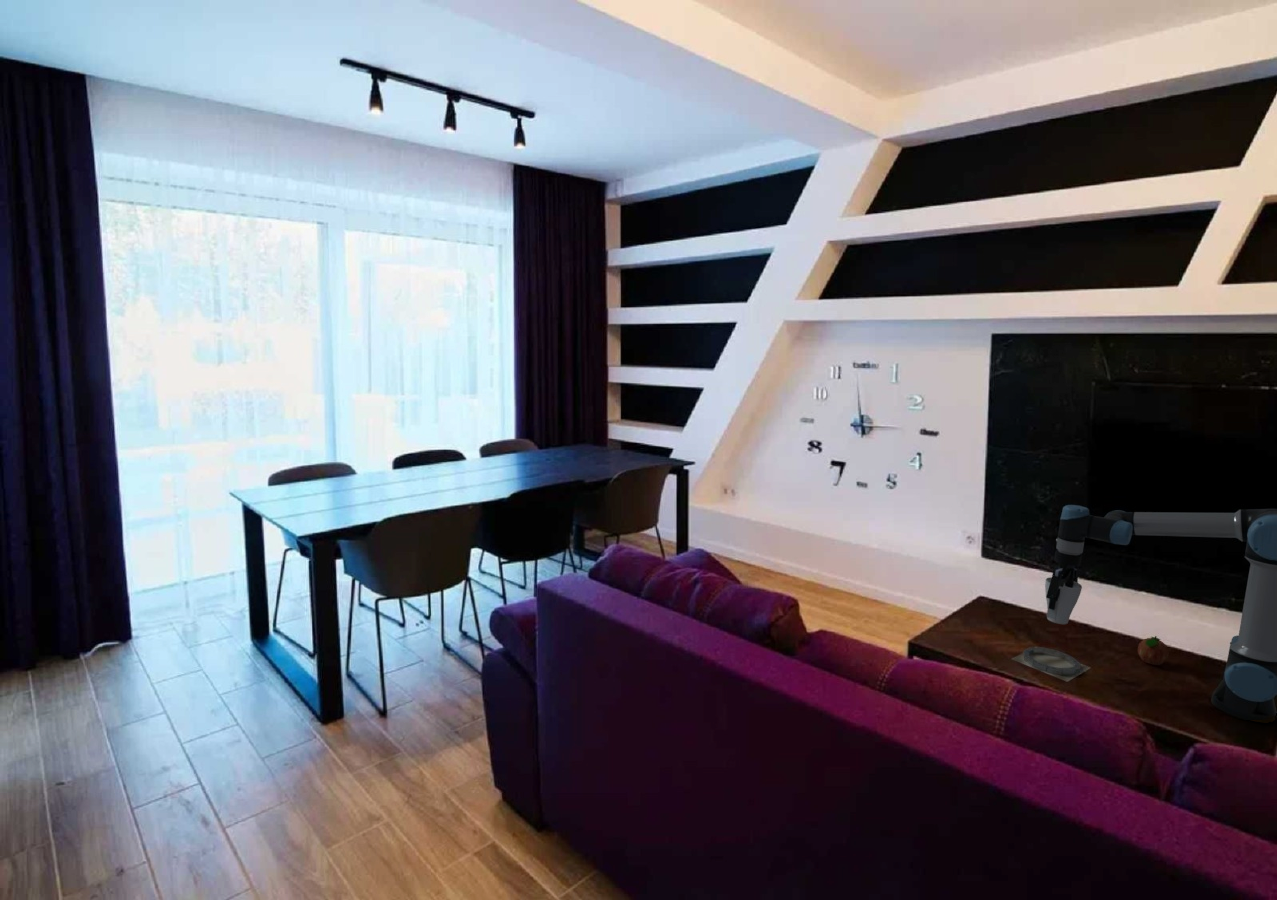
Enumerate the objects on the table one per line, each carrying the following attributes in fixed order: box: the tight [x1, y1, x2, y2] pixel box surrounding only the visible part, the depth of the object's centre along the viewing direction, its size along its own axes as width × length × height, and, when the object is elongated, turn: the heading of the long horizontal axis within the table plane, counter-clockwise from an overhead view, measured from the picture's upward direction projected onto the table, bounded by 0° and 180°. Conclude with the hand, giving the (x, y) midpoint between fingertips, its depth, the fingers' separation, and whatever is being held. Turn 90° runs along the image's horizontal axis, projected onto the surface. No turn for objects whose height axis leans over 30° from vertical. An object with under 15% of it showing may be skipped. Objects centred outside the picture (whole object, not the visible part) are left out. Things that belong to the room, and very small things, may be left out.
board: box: [1011, 652, 1092, 682], centre depth 235 cm, size 18×18×1 cm
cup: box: [1044, 576, 1083, 625], centre depth 231 cm, size 10×10×14 cm
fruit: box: [1137, 635, 1169, 666], centre depth 241 cm, size 9×10×10 cm
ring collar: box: [1022, 646, 1081, 675], centre depth 235 cm, size 16×16×2 cm
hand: (1058, 614), depth 232 cm, fingers closed on cup, 10 cm apart
